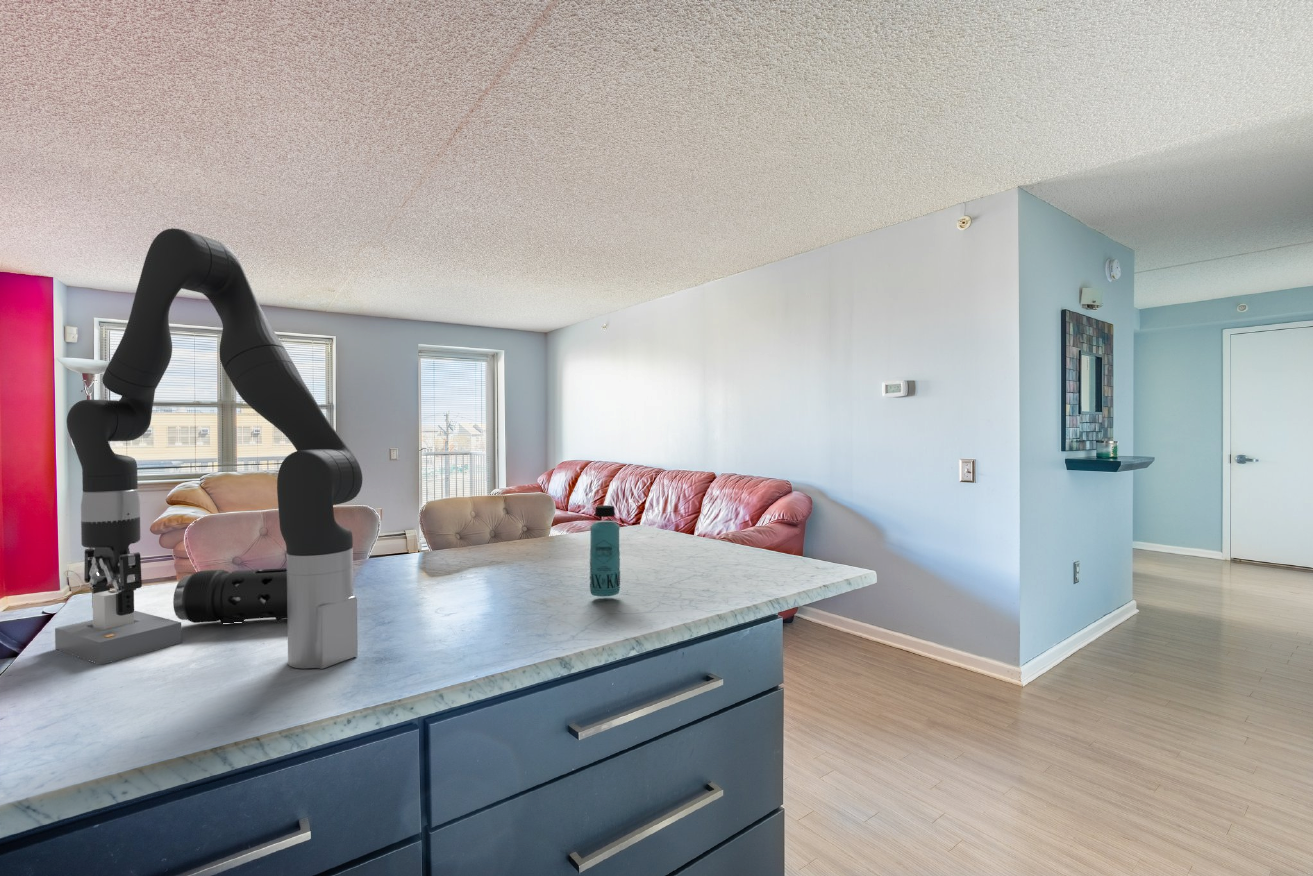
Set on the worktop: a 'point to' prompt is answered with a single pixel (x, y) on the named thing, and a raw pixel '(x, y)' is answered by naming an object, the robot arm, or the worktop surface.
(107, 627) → the block
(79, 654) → the outlet block
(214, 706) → the worktop surface
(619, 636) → the worktop surface
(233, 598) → the muzzle brake
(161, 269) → the robot arm
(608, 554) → the beverage bottle
